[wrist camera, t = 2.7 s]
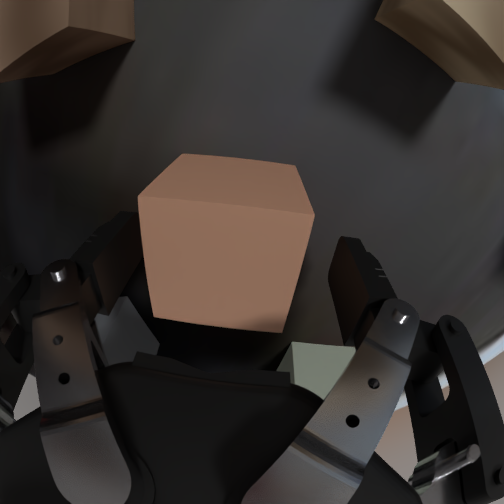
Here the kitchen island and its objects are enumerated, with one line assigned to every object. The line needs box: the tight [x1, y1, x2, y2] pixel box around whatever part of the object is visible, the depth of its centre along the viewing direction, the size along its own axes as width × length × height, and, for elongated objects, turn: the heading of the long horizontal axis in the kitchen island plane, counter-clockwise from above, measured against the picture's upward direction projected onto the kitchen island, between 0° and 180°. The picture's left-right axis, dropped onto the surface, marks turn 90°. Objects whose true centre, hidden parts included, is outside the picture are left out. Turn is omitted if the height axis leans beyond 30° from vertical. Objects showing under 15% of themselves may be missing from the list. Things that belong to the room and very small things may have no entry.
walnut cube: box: [0, 0, 135, 83], centre depth 5 cm, size 5×5×5 cm
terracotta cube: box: [138, 154, 315, 333], centre depth 11 cm, size 5×5×5 cm
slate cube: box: [95, 296, 160, 365], centre depth 16 cm, size 5×5×5 cm
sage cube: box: [277, 342, 356, 400], centre depth 18 cm, size 5×5×5 cm
